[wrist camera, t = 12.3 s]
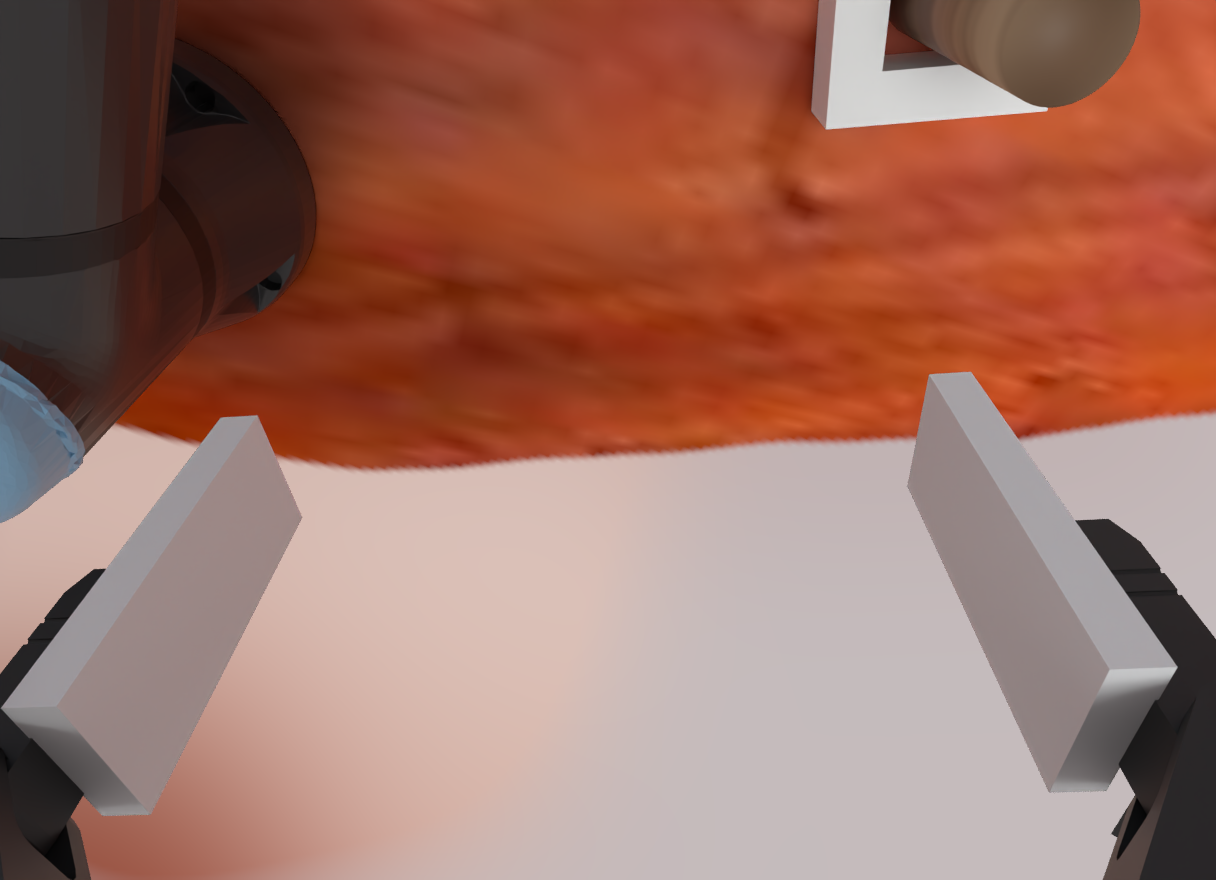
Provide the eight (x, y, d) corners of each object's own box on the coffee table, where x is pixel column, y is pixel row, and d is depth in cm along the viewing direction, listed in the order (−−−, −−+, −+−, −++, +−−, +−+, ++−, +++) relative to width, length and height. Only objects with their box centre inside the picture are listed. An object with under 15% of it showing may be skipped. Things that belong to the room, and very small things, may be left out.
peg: (879, 40, 36) (991, 113, 25) (889, -59, 34) (1018, -28, 23) (965, 31, 36) (1118, 100, 25) (981, -70, 34) (1158, -43, 22)
